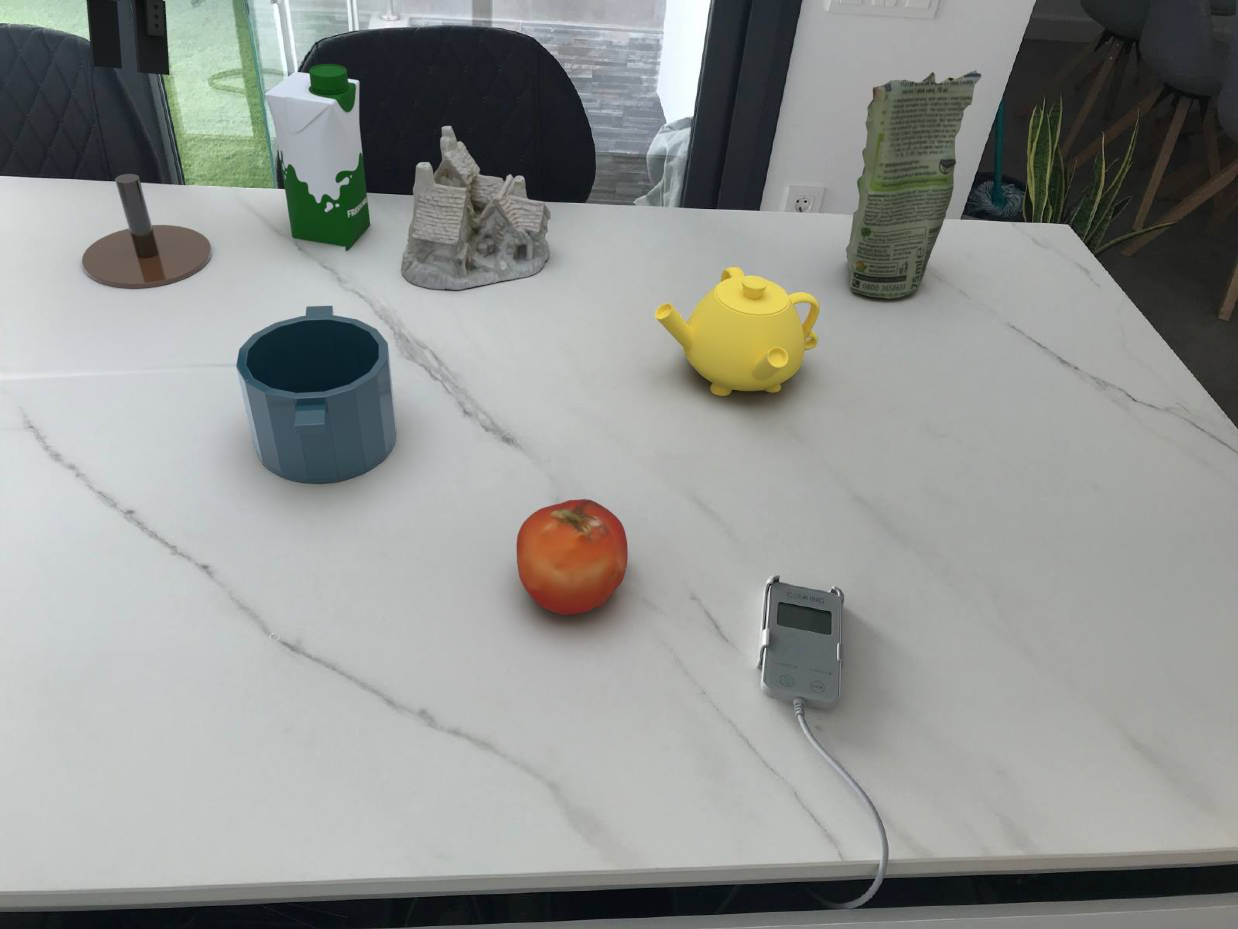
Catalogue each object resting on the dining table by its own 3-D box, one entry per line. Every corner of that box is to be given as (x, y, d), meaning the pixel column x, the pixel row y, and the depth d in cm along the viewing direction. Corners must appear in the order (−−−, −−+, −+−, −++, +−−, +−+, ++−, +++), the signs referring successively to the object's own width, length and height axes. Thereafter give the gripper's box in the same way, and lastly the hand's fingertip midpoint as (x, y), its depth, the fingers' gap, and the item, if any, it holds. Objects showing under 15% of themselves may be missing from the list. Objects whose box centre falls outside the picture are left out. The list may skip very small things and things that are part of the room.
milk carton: (352, 255, 117) (331, 86, 103) (280, 243, 118) (251, 74, 104) (380, 222, 123) (364, 60, 110) (312, 211, 124) (288, 49, 111)
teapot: (643, 379, 102) (654, 286, 94) (707, 323, 111) (721, 234, 103) (767, 434, 96) (788, 339, 89) (823, 370, 105) (847, 280, 98)
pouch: (822, 288, 118) (872, 79, 102) (844, 246, 127) (893, 47, 111) (914, 312, 116) (979, 102, 99) (929, 268, 124) (993, 67, 108)
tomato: (544, 647, 74) (546, 576, 69) (496, 567, 80) (495, 495, 75) (649, 607, 78) (659, 537, 73) (596, 533, 84) (601, 463, 79)
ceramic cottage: (381, 273, 113) (379, 149, 104) (452, 221, 126) (456, 105, 116) (501, 316, 110) (510, 191, 101) (562, 258, 122) (575, 142, 113)
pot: (246, 509, 83) (225, 422, 77) (265, 384, 97) (247, 301, 90) (397, 498, 86) (388, 413, 79) (395, 378, 99) (387, 296, 93)
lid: (72, 295, 106) (42, 208, 99) (98, 235, 116) (73, 152, 109) (204, 291, 109) (184, 205, 102) (219, 232, 119) (201, 151, 112)
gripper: (205, -182, 85) (216, 80, 92) (111, -152, 101) (126, 68, 109) (112, -207, 80) (132, 72, 87) (29, -171, 96) (51, 61, 104)
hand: (129, 70), depth 98 cm, fingers open, 13 cm apart
